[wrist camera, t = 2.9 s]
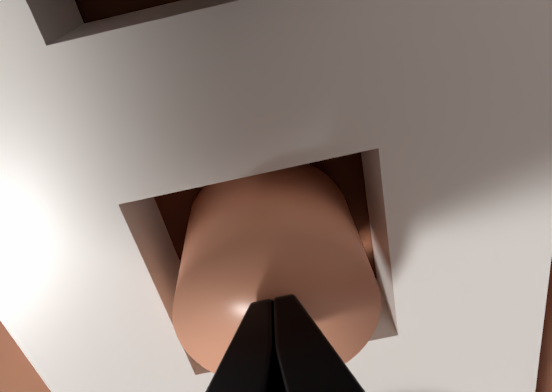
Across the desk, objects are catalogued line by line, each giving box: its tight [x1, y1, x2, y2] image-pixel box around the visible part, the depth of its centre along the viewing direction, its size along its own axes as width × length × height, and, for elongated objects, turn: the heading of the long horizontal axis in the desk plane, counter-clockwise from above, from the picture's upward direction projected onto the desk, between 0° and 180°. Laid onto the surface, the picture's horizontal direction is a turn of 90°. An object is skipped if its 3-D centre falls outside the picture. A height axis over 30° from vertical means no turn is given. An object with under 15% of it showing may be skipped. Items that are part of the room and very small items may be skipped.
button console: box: [0, 0, 552, 392], centre depth 11 cm, size 12×24×2 cm, turn 12°
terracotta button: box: [172, 164, 381, 374], centre depth 10 cm, size 4×4×3 cm
